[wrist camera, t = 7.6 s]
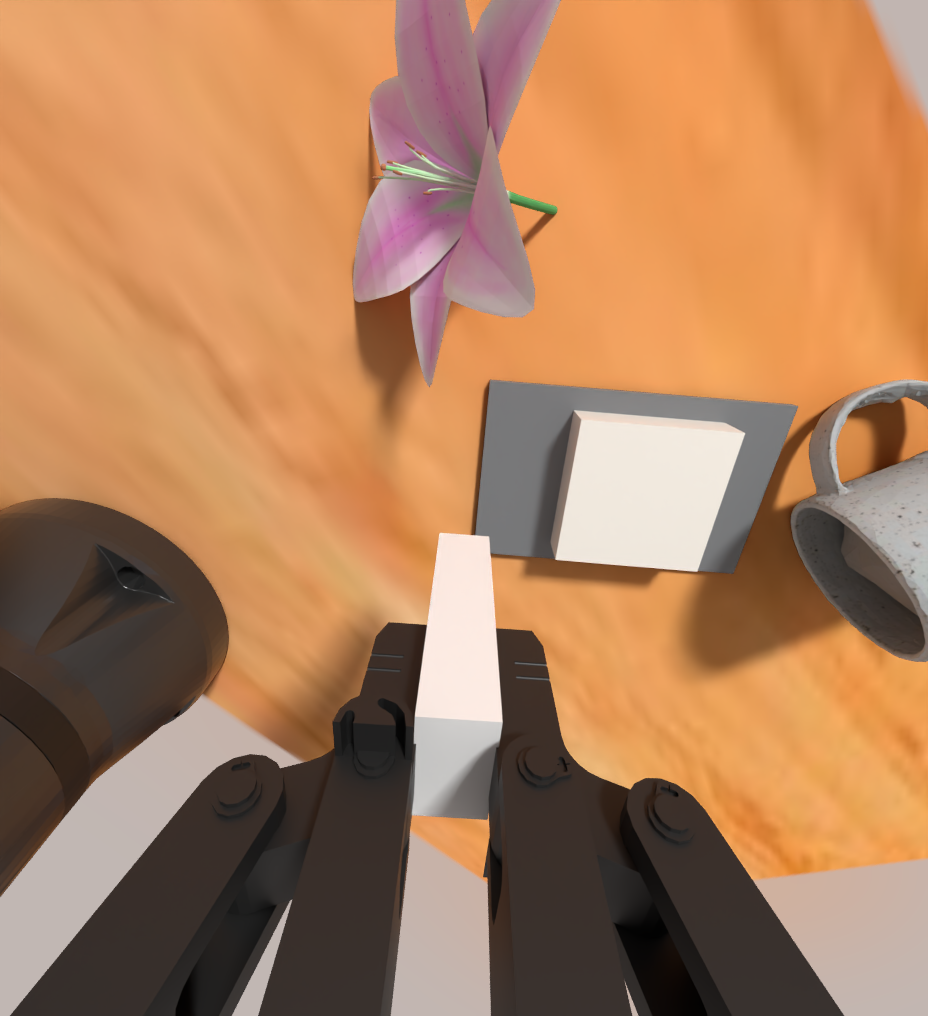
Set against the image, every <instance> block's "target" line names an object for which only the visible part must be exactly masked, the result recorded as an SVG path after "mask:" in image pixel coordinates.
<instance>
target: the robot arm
mask: <svg viewBox="0 0 928 1016" xmlns="http://www.w3.org/2000/svg"><path fill="white" fill-rule="evenodd" d="M227 647H228V627H227V621H226V617H225V613H224V610H223V607H222V605H221V602H220V600H219V598H218V596H217V594H216V592H215V590H214V589H213V587H212V585H211V584H210V582H209V581H208V579H207V578H206V577H205V575H204V574H203V573H202V571H201V570H200V569H199V568H198V567H197V566H196V564H195V563H194V562H193V561H192V560H191V559H190V558H189V557H188V556H187V555H186V554H185V553H184V552H183V551H182V550H180V549H179V548H178V547H177V546H176V545H175V544H173V543H172V542H171V541H170V540H168V539H167V538H165V537H164V536H163V535H161V534H160V533H158V532H157V531H155V530H154V529H152V528H150V527H149V526H147V525H145V524H143V523H142V522H140V521H138V520H136V519H134V518H132V517H130V516H127V515H125V514H123V513H121V512H118V511H115V510H113V509H110V508H107V507H104V506H100V505H97V504H93V503H89V502H84V501H78V500H71V499H58V498H49V499H36V500H30V501H25V502H21V503H18V504H15V505H12V506H10V507H7V508H5V509H3V510H0V897H1V895H2V894H3V893H4V892H5V890H6V889H7V888H8V887H9V886H10V884H11V883H12V881H14V879H15V878H16V877H17V876H18V874H19V873H20V872H21V871H22V869H23V868H24V867H25V866H26V864H27V863H28V862H29V861H30V859H31V858H32V857H33V856H34V854H35V853H36V852H37V851H38V849H39V848H40V847H41V846H42V844H43V843H44V842H45V841H46V839H47V838H48V837H49V836H50V834H51V833H52V832H53V831H54V829H55V828H56V827H57V826H58V825H59V823H60V822H61V821H62V819H63V818H64V817H65V815H66V814H67V813H68V812H69V811H70V810H71V808H72V807H73V806H74V805H75V803H76V802H77V801H78V800H79V799H80V797H81V796H82V795H83V793H84V792H85V791H86V789H88V788H89V786H90V785H91V784H92V783H93V782H94V781H95V780H96V779H97V778H98V777H99V776H100V775H102V774H103V773H104V772H105V771H107V770H108V769H109V768H110V767H111V766H113V765H114V764H115V763H117V762H118V761H119V760H120V759H122V758H123V757H124V756H125V755H127V754H128V753H129V752H130V751H132V750H133V749H134V748H135V747H137V746H138V745H139V744H141V743H142V742H143V741H144V740H145V739H147V738H148V737H149V736H150V735H151V734H153V733H154V732H155V731H156V730H158V729H159V728H160V727H161V726H163V725H165V724H167V723H169V722H171V721H172V720H174V719H176V718H177V717H178V716H180V715H181V714H183V713H184V712H185V711H187V710H188V709H189V708H190V707H191V706H192V705H193V704H194V703H195V702H196V701H197V700H198V698H199V697H200V696H201V695H202V693H203V692H204V691H205V689H206V688H207V686H208V685H209V684H210V682H211V681H212V679H213V678H214V677H215V675H216V674H217V672H218V671H219V669H220V668H221V666H222V664H223V662H224V659H225V656H226V652H227ZM546 664H547V663H546V658H545V653H544V649H543V646H542V644H541V643H540V641H539V640H538V639H537V637H536V636H535V635H534V633H533V632H532V631H526V630H512V629H497V628H496V624H495V610H494V596H493V583H492V569H491V555H490V541H489V536H476V535H462V534H448V533H440V535H439V542H438V550H437V557H436V564H435V572H434V579H433V586H432V594H431V601H430V608H429V616H428V623H427V625H419V624H405V623H390V622H389V623H388V624H387V625H386V626H385V627H384V628H383V629H382V631H381V632H380V633H379V634H378V635H377V636H376V639H375V643H374V646H373V650H372V654H371V657H370V660H369V664H368V669H367V671H366V675H365V678H364V682H363V685H362V689H361V692H360V696H358V697H356V698H353V699H351V700H350V701H349V702H348V703H346V704H345V705H344V706H343V707H342V708H340V710H339V711H338V713H337V715H336V717H335V718H334V720H333V734H334V749H333V750H332V751H330V752H329V753H327V754H325V755H323V756H322V757H320V758H317V759H314V760H311V761H308V762H304V763H300V764H296V765H292V766H288V767H284V768H279V766H278V764H277V763H276V762H275V761H273V760H271V759H270V758H268V757H267V756H262V755H252V754H250V755H245V756H241V757H237V758H233V759H231V760H230V761H228V762H226V763H224V764H222V765H220V766H219V767H217V768H216V769H215V770H214V771H213V772H211V773H210V775H208V776H207V777H206V778H205V779H204V780H203V781H202V782H201V783H200V785H199V786H198V787H197V788H196V790H195V791H194V792H193V793H192V794H191V796H190V797H189V798H188V799H187V800H186V802H185V803H184V804H183V805H182V807H181V808H180V809H179V810H178V811H177V813H176V814H175V815H174V816H173V818H172V819H171V820H170V821H169V823H168V824H167V825H166V826H165V827H164V829H163V830H162V831H161V832H160V833H159V835H158V836H157V837H156V838H155V839H154V841H153V842H152V843H151V844H150V846H149V847H148V848H147V849H146V850H145V852H144V853H143V854H142V856H141V857H140V858H139V859H138V860H137V862H136V863H135V864H134V865H133V866H132V868H131V869H130V870H129V871H128V873H127V874H126V875H125V876H124V877H123V879H122V880H121V881H120V882H119V883H118V885H117V886H116V887H115V888H114V890H113V891H112V892H111V893H110V894H109V896H108V897H107V898H106V899H105V900H104V902H103V903H102V904H101V905H100V907H99V908H98V909H97V910H96V911H95V913H94V914H93V915H92V916H91V918H90V919H89V920H88V921H87V923H86V924H85V925H84V926H83V927H82V929H81V930H80V931H79V932H78V934H77V935H76V936H75V937H74V938H73V940H72V941H71V942H70V944H68V946H67V947H66V948H65V949H64V950H63V952H62V953H61V954H60V955H59V957H58V958H57V959H56V960H55V962H54V963H53V964H52V965H51V966H50V968H49V969H48V970H47V971H46V972H45V974H44V975H43V976H42V977H41V979H40V980H39V981H38V982H37V983H36V985H35V986H34V987H33V988H32V990H31V991H30V992H29V993H28V995H27V996H26V997H25V998H24V999H23V1001H22V1002H21V1003H20V1004H19V1005H18V1007H17V1008H16V1009H15V1010H14V1011H13V1013H12V1014H11V1015H10V1016H232V1014H233V1012H234V1010H235V1008H236V1006H237V1004H238V1002H239V1000H240V998H241V996H242V994H243V992H244V990H245V988H246V986H247V984H248V982H249V980H250V978H251V976H252V975H253V973H254V971H255V969H256V967H257V964H258V963H259V961H260V959H261V956H262V954H263V953H264V951H265V949H266V947H267V945H268V943H269V941H270V939H271V937H272V935H273V933H274V931H275V929H276V927H277V925H278V923H279V921H280V919H281V917H282V915H283V913H284V911H285V909H286V907H287V905H288V903H289V901H290V900H292V899H293V900H292V903H291V907H290V910H289V913H288V917H287V920H286V924H285V927H284V930H283V934H282V937H281V940H280V944H279V947H278V950H277V954H276V957H275V961H274V964H273V967H272V971H271V974H270V978H269V981H268V985H267V988H266V991H265V994H264V998H263V1001H262V1005H261V1008H260V1012H259V1015H258V1016H391V1007H392V998H393V989H394V980H395V971H396V962H397V953H398V944H399V935H400V926H401V917H402V908H403V899H404V890H405V881H406V871H407V863H408V854H409V837H410V836H409V835H410V826H411V817H412V815H419V816H435V817H451V818H467V819H484V820H487V819H488V813H489V828H490V838H489V844H488V850H487V856H486V862H485V868H484V875H483V877H488V913H489V950H490V951H489V954H490V993H491V1016H632V1013H631V1008H630V1004H629V999H628V995H627V990H626V986H625V982H626V985H627V988H628V990H629V993H630V995H631V998H632V1000H633V1003H634V1005H635V1007H636V1010H637V1013H638V1015H639V1016H844V1015H843V1013H842V1012H841V1011H840V1009H839V1007H838V1006H837V1004H836V1003H835V1002H834V1000H833V999H832V997H831V996H830V994H829V993H828V991H827V990H826V988H825V987H824V985H823V984H822V982H821V981H820V979H819V978H818V976H817V975H816V973H815V972H814V971H813V969H812V968H811V966H810V965H809V963H808V962H807V960H806V959H805V957H804V956H803V955H802V953H801V951H800V950H799V948H798V947H797V945H796V944H795V942H794V941H793V940H792V938H791V936H790V935H789V933H788V932H787V931H786V929H785V928H784V926H783V925H782V923H781V922H780V920H779V919H778V917H777V916H776V914H775V913H774V911H773V910H772V908H771V907H770V905H769V904H768V902H767V901H766V900H765V898H764V897H763V895H762V894H761V892H760V891H759V889H758V888H757V886H756V885H755V883H754V882H753V880H752V879H751V877H750V876H749V874H748V873H747V871H746V870H745V868H744V867H743V865H742V864H741V863H740V861H739V860H738V858H737V857H736V855H735V854H734V852H733V851H732V849H731V848H730V846H729V845H728V843H727V842H726V840H725V839H724V837H723V836H722V834H721V833H720V831H719V830H718V829H717V827H716V826H715V824H714V823H713V821H712V820H711V818H710V817H709V815H708V814H707V812H706V811H705V810H704V808H703V807H702V806H701V805H700V804H699V803H698V802H697V800H696V799H695V798H694V797H693V796H692V795H691V794H689V793H688V792H687V791H685V790H684V789H682V788H681V787H679V786H678V785H677V784H674V783H671V782H668V781H666V780H663V779H658V778H645V779H643V780H641V781H639V782H637V783H635V784H634V785H633V787H632V788H631V790H630V789H627V788H625V787H622V786H620V785H617V784H614V783H612V782H609V781H607V780H604V779H601V778H599V777H597V776H595V775H593V774H591V773H589V772H588V771H587V770H585V769H584V768H583V767H581V766H580V765H579V764H578V763H577V762H576V761H575V760H574V759H573V758H572V756H571V755H570V754H569V752H568V751H567V749H566V747H565V745H564V742H563V739H562V737H561V732H560V727H559V722H558V717H557V712H556V707H555V702H554V698H553V693H552V688H551V683H550V681H549V673H548V668H547V667H546ZM624 980H625V981H624Z"/></svg>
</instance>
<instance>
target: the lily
mask: <svg viewBox="0 0 928 1016" xmlns="http://www.w3.org/2000/svg"><path fill="white" fill-rule="evenodd" d="M560 1H561V0H492V1H491V2H490V3H489V5H488V6H487V8H486V9H485V10H484V12H483V13H482V15H481V17H480V19H479V22H478V24H477V26H476V29H475V31H474V33H473V36H472V31H471V26H470V21H469V17H468V12H467V8H466V3H465V0H396V20H395V45H396V56H397V67H398V76H395V77H392V78H390V79H388V80H385V81H383V82H382V83H381V84H379V85H378V86H377V87H376V88H375V89H374V91H373V92H372V94H371V98H370V109H369V112H370V123H371V129H372V135H373V140H374V145H375V149H376V152H377V156H378V160H379V163H380V167H381V170H382V172H383V174H384V176H374V177H373V179H382V180H381V181H380V182H379V184H378V186H377V187H376V189H375V191H374V192H373V194H372V196H371V198H370V199H369V202H368V205H367V208H366V211H365V214H364V217H363V220H362V223H361V228H360V233H359V238H358V243H357V248H356V255H355V263H354V271H353V291H354V298H355V300H356V301H357V302H366V301H370V300H374V299H378V298H382V297H386V296H389V295H392V294H394V293H397V292H399V291H402V290H404V289H405V288H407V287H408V286H410V285H411V289H410V304H411V318H412V325H413V331H414V337H415V344H416V348H417V353H418V357H419V362H420V366H421V369H422V373H423V376H424V379H425V381H426V383H427V385H428V386H429V387H430V385H431V384H432V381H433V377H434V372H435V368H436V363H437V359H438V354H439V350H440V346H441V341H442V337H443V333H444V328H445V324H446V320H447V316H448V312H449V307H450V303H451V300H452V301H454V302H456V303H458V304H460V305H463V306H466V307H469V308H472V309H474V310H477V311H480V312H484V313H488V314H493V315H497V316H502V317H523V316H525V315H526V314H528V313H529V312H530V311H532V310H533V309H534V299H535V287H534V283H533V278H532V274H531V270H530V265H529V261H528V258H527V254H526V251H525V248H524V245H523V242H522V238H521V235H520V232H519V229H518V226H517V222H516V219H515V216H514V213H513V210H512V207H511V203H513V204H516V205H519V206H523V207H526V208H529V209H533V210H537V211H540V212H544V213H548V214H552V215H554V214H556V213H557V207H556V206H553V205H549V204H546V203H543V202H540V201H536V200H533V199H530V198H527V197H524V196H520V195H517V194H515V193H513V192H510V191H508V190H506V187H505V184H504V180H503V176H502V172H501V168H500V163H499V159H498V154H499V151H500V148H501V145H502V143H503V140H504V137H505V134H506V132H507V129H508V127H509V124H510V122H511V119H512V117H513V114H514V112H515V110H516V107H517V105H518V102H519V100H520V97H521V95H522V93H523V90H524V88H525V85H526V83H527V80H528V78H529V76H530V73H531V71H532V68H533V66H534V64H535V61H536V59H537V56H538V54H539V52H540V49H541V47H542V44H543V42H544V40H545V37H546V35H547V32H548V30H549V28H550V25H551V23H552V20H553V18H554V15H555V13H556V11H557V8H558V6H559V3H560Z"/></svg>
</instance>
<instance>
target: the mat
mask: <svg viewBox="0 0 928 1016" xmlns="http://www.w3.org/2000/svg"><path fill="white" fill-rule="evenodd" d="M797 408H798V406H795V405H792V404H780V403H768V402H755V401H743V400H731V399H719V398H707V397H694V396H682V395H670V394H658V393H646V392H634V391H621V390H609V389H597V388H585V387H573V386H560V385H548V384H536V383H524V382H512V381H500V380H490V385H489V395H488V406H487V416H486V427H485V437H484V448H483V458H482V469H481V479H480V490H479V500H478V510H477V521H476V531H475V535H476V536H489V541H490V553H492V554H504V555H516V556H528V557H540V558H551V559H555V557H554V553H553V550H552V546H551V542H550V541H551V536H552V530H553V524H554V519H555V513H556V508H557V502H558V496H559V491H560V485H561V479H562V474H563V468H564V462H565V457H566V451H567V446H568V440H569V434H570V429H571V423H572V417H573V412H574V410H577V411H589V412H601V413H613V414H625V415H637V416H650V417H662V418H674V419H686V420H698V421H710V422H723V423H726V424H728V425H730V426H732V427H734V428H736V429H738V430H740V431H742V432H744V433H745V435H744V438H743V441H742V444H741V447H740V450H739V453H738V456H737V459H736V461H735V464H734V467H733V470H732V473H731V476H730V479H729V482H728V484H727V487H726V490H725V493H724V496H723V499H722V502H721V505H720V508H719V510H718V513H717V516H716V519H715V522H714V525H713V528H712V531H711V533H710V536H709V539H708V542H707V545H706V548H705V551H704V554H703V557H702V559H701V562H700V565H699V568H698V571H707V572H719V573H731V574H733V573H734V571H735V568H736V565H737V563H738V560H739V558H740V555H741V553H742V550H743V547H744V545H745V542H746V540H747V537H748V535H749V532H750V529H751V527H752V524H753V522H754V519H755V517H756V514H757V511H758V509H759V506H760V504H761V501H762V498H763V496H764V493H765V491H766V488H767V486H768V483H769V480H770V478H771V475H772V473H773V470H774V468H775V465H776V462H777V460H778V457H779V455H780V452H781V450H782V447H783V444H784V442H785V439H786V437H787V434H788V431H789V429H790V426H791V424H792V421H793V419H794V416H795V413H796V411H797Z"/></svg>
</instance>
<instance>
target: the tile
mask: <svg viewBox="0 0 928 1016" xmlns="http://www.w3.org/2000/svg"><path fill="white" fill-rule="evenodd" d="M744 435H745V433H744V432H742V431H740V430H738V429H736V428H734V427H732V426H730V425H728V424H726V423H723V422H710V421H698V420H686V419H674V418H662V417H650V416H637V415H625V414H613V413H601V412H589V411H577V410H574V412H573V417H572V423H571V429H570V434H569V440H568V446H567V451H566V457H565V462H564V468H563V474H562V479H561V485H560V491H559V496H558V502H557V508H556V513H555V519H554V524H553V530H552V536H551V541H550V542H551V546H552V550H553V553H554V557H555V560H563V561H575V562H587V563H599V564H611V565H623V566H635V567H647V568H659V569H671V570H683V571H695V572H697V571H698V568H699V565H700V562H701V559H702V557H703V554H704V551H705V548H706V545H707V542H708V539H709V536H710V533H711V531H712V528H713V525H714V522H715V519H716V516H717V513H718V510H719V508H720V505H721V502H722V499H723V496H724V493H725V490H726V487H727V484H728V482H729V479H730V476H731V473H732V470H733V467H734V464H735V461H736V459H737V456H738V453H739V450H740V447H741V444H742V441H743V438H744Z"/></svg>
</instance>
